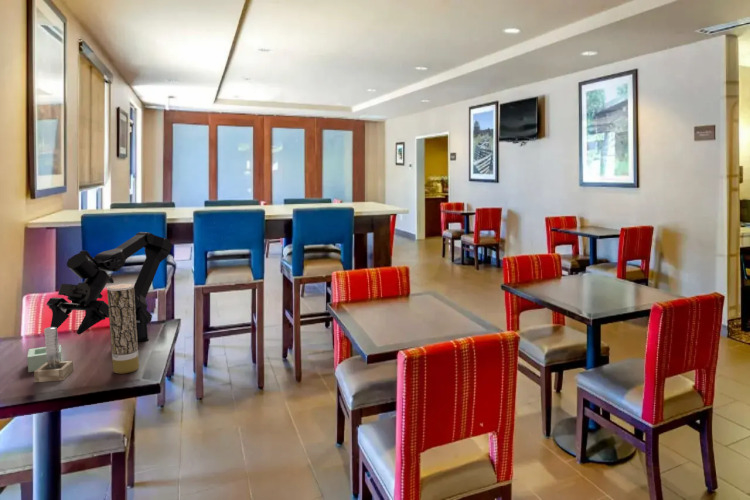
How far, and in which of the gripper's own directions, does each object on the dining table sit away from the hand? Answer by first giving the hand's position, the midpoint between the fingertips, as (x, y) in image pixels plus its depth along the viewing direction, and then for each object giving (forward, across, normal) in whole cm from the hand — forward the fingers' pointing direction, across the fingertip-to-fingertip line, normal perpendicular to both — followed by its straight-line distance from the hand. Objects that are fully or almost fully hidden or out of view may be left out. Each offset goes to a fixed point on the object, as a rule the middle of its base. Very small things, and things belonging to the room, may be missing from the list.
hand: (64, 332), depth 137 cm
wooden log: (+5, +16, +11) cm, 20 cm away
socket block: (+6, -10, +10) cm, 15 cm away
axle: (+11, 0, +5) cm, 12 cm away
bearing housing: (+11, 0, +5) cm, 12 cm away
